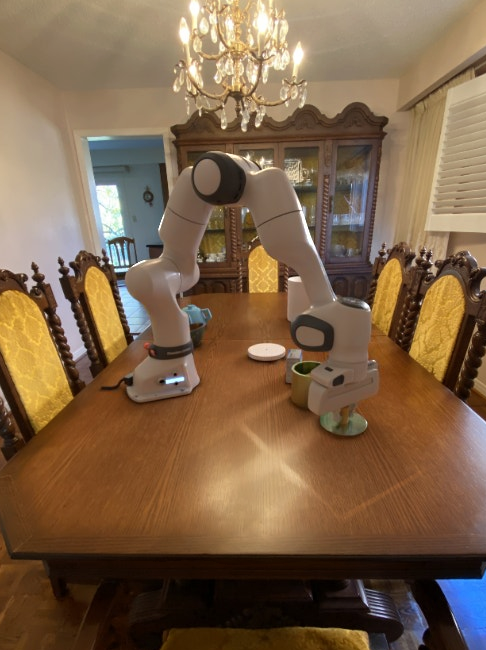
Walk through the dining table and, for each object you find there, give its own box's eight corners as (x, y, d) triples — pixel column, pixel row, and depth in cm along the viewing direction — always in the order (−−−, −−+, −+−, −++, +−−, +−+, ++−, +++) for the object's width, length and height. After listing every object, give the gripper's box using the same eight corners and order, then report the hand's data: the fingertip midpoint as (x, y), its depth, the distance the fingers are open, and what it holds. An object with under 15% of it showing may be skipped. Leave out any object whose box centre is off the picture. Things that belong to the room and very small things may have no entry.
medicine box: (300, 384, 108) (300, 358, 105) (285, 383, 109) (286, 357, 105) (301, 373, 115) (302, 349, 112) (288, 372, 116) (288, 348, 113)
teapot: (187, 334, 156) (185, 311, 152) (169, 327, 166) (167, 305, 162) (214, 326, 166) (212, 304, 162) (195, 320, 176) (193, 300, 172)
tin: (307, 414, 92) (308, 380, 88) (284, 398, 100) (284, 366, 96) (336, 403, 96) (338, 370, 93) (312, 388, 105) (313, 358, 101)
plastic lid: (265, 366, 121) (265, 359, 120) (240, 355, 131) (240, 349, 130) (293, 355, 129) (293, 349, 128) (267, 346, 139) (267, 340, 138)
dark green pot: (157, 344, 145) (154, 320, 142) (205, 340, 148) (203, 317, 144) (154, 355, 133) (150, 330, 130) (206, 351, 136) (204, 326, 132)
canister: (286, 323, 168) (286, 281, 161) (288, 314, 183) (289, 276, 176) (319, 323, 166) (321, 282, 159) (319, 314, 181) (321, 276, 173)
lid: (342, 444, 79) (344, 423, 77) (310, 421, 88) (311, 402, 86) (376, 429, 84) (379, 409, 82) (343, 408, 94) (344, 390, 92)
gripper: (368, 354, 88) (363, 401, 93) (304, 373, 78) (303, 425, 84) (388, 362, 83) (382, 412, 88) (323, 383, 73) (320, 438, 79)
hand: (343, 418), depth 86 cm, fingers closed on lid, 2 cm apart
